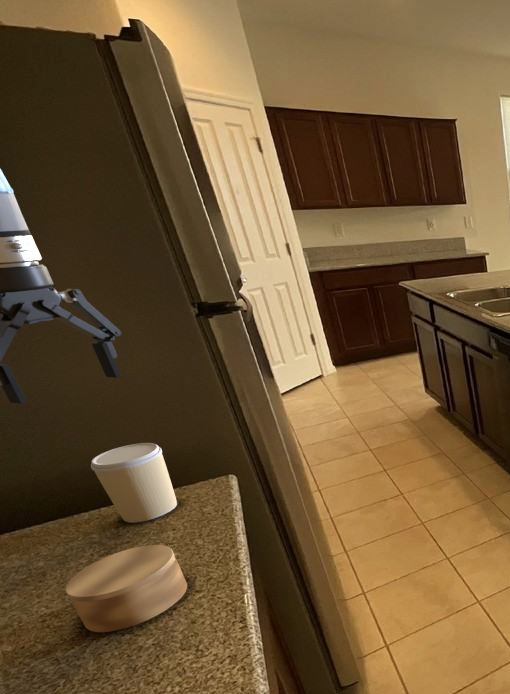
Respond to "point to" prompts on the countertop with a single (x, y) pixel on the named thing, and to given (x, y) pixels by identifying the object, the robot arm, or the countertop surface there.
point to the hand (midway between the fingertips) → (69, 388)
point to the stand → (127, 588)
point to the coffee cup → (136, 481)
